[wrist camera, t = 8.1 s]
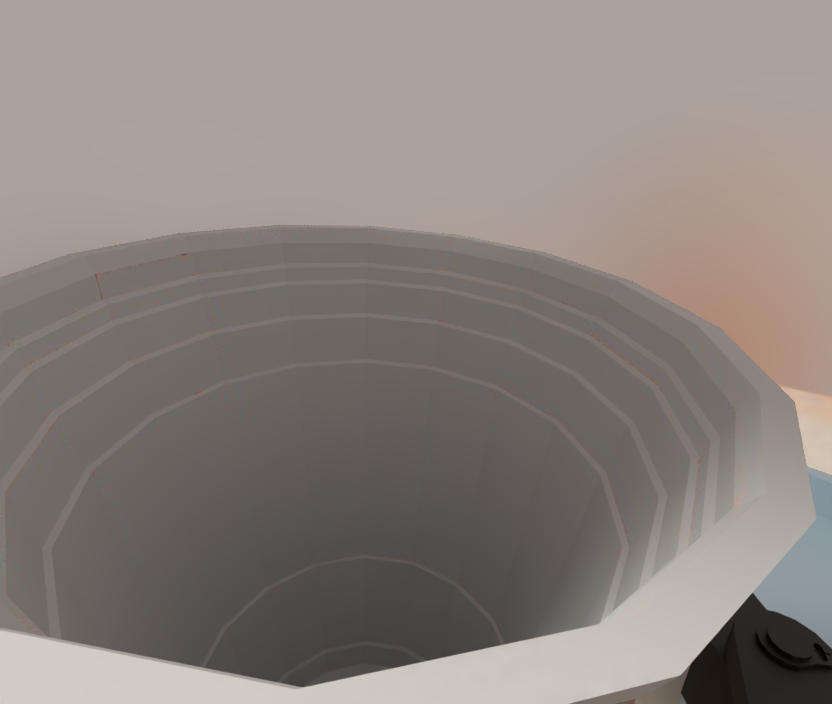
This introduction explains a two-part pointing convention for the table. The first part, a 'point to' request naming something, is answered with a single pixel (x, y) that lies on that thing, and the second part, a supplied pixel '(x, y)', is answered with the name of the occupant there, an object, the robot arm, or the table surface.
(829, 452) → the table surface
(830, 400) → the table surface
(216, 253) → the plastic cup
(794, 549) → the tray
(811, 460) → the table surface
